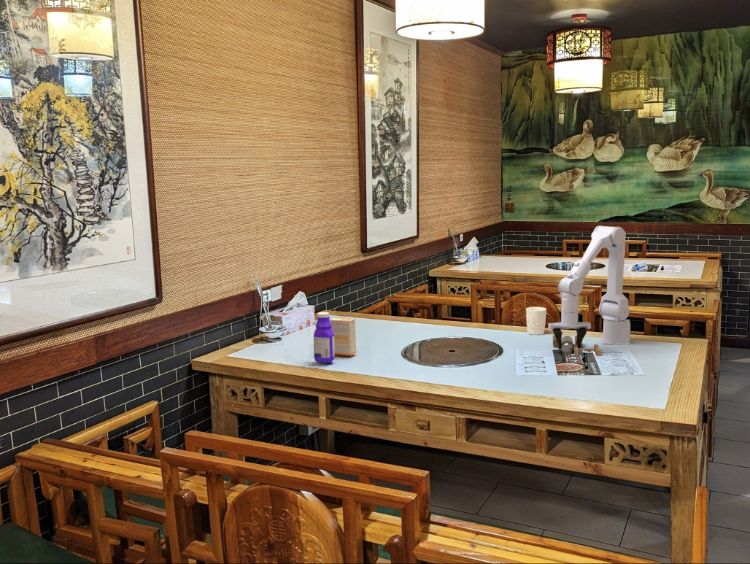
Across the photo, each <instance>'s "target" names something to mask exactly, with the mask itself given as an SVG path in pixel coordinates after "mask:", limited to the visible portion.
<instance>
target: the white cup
mask: <svg viewBox="0 0 750 564" xmlns="http://www.w3.org/2000/svg"><path fill="white" fill-rule="evenodd" d="M525 312H526V313H525V314H526V315H525V317H526V332H527V334H528V335H534V336H541V335H544V334H545V331H546V330H545V329H546V328H545V327H546V319H547V308H546V307H543V306H542V307H541V306H529V307H526V308H525Z"/></svg>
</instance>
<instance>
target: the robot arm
mask: <svg viewBox="0 0 750 564" xmlns="http://www.w3.org/2000/svg"><path fill="white" fill-rule="evenodd" d="M626 234H627V232H626V231H625V230H624V228H622V227H621V226H605V225H597V226H596V227H595V228H594V230H593V232H592V233H591V235H590V236H591V240H590V243H589V245H588V246H587V248H586V250H585V252H584V254H583V256H582V258H581V259H577V260H576V261H575V262H574V263H573V265H572V267H571V269H570V270H569V272H568V274H567V275H566V277H563V278H562V279H560V281H559V283H558V285H557V288H558V291H559V293H560V294H559V295H560V298H561V310H560V311H561V314H560V315H561V319H560V320H561V321H560V322H552V323H551V322H549V323H548V330H550V331H551V330H552V333H553V335H555V337H556V340H557V345H558V348H557V349H558V350H561V347H562V344H561V342H562V338H563V332H562V330H569V329H570V330H571V329H574V330H575V331H576V336H577V346H578V349H581V348H580V347H581V343H582V344H583V340H584V338H585V336H586V334H587V333H588V330H589V329H592V328H591V327H592V326H591V325H592V324H591V322H589V321H579V295H580V294H581V292H582V291H583V286H584V285H583V284H584V281H585V280H586V277H587V276H588V274H589V273H590V271H591V269H592V267H591V264H592V262H593V261H594V260H595V259H596V257H597V256H598V254H599V253H600V252H601V250H602V249H605V248H606V249H607V250H608V264H607V265H608V269H607V282H606V283H607V284H606V286H607V287H606V293H605V294H604V295H603V296H601V300H600V304H599V307H598V312H599V315H600V316H601V318H602V319H603V326H602V327H603V329H602V337H600V341H601V343H602V345H615V346H616V345H617V346H619V345H622V346H624V345H626V346H630V345H631V321H630V319H627V318H628V317H629V315H630V305H629V299H628V298H627V297H626V296H625V295H624V294H623V287H624V269H625V257H626V256H625V253H626Z"/></svg>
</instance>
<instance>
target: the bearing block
mask: <svg viewBox="0 0 750 564" xmlns="http://www.w3.org/2000/svg"><path fill="white" fill-rule="evenodd" d="M574 344H577V335H575V336H574ZM552 347H553V349H558V345H557V340H556V337H555V335H554V334H553V335H552ZM580 349H583V342H582V343H581V347H580Z"/></svg>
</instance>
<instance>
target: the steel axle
mask: <svg viewBox="0 0 750 564" xmlns="http://www.w3.org/2000/svg"><path fill="white" fill-rule="evenodd" d="M573 341H574V340H573V338H572V336H570V335H564V336H562V340H561V344H562V347H561V349H560V350H561V352H562V354H566V353H571V354H573V353H574V352H573V344H574V342H573Z"/></svg>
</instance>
